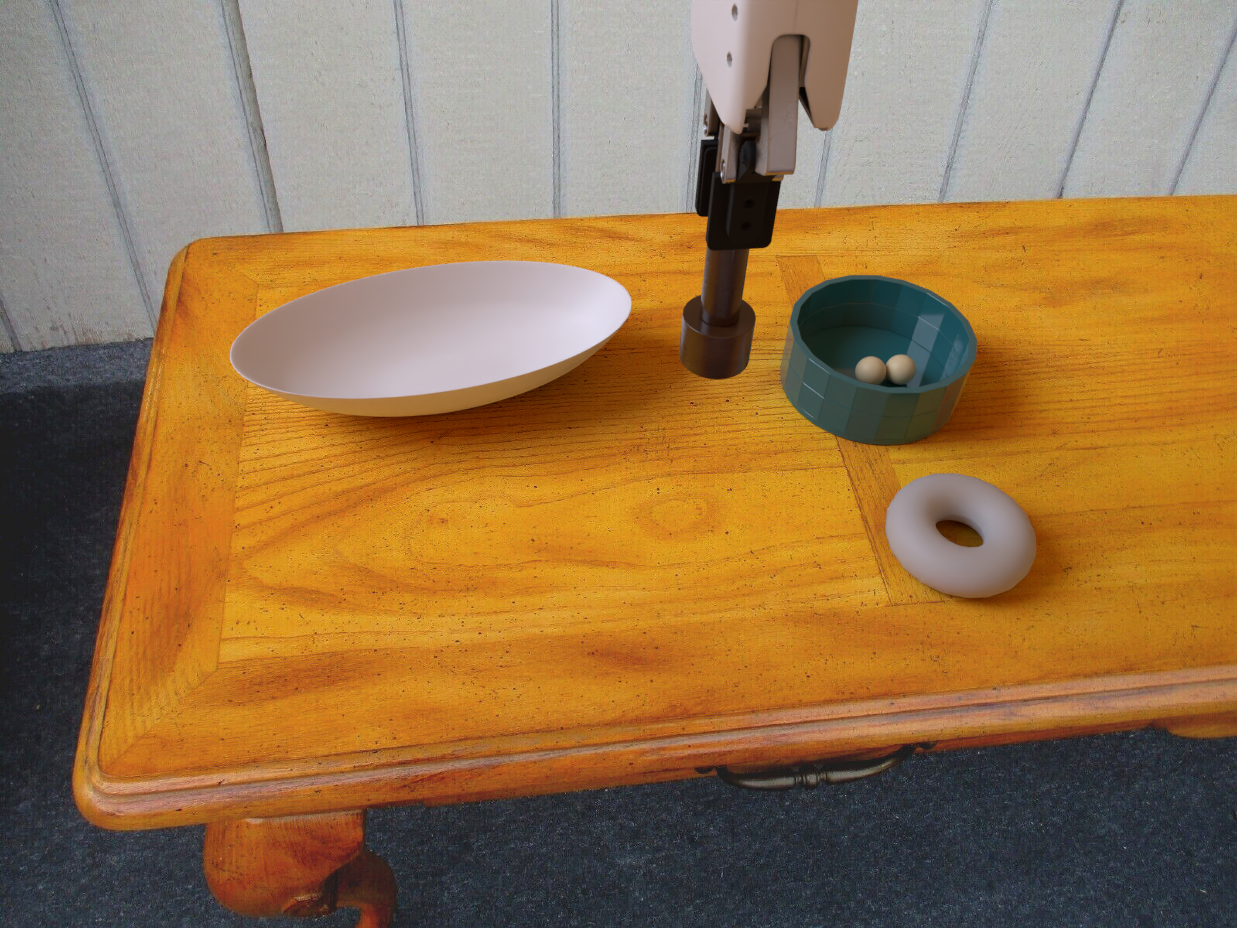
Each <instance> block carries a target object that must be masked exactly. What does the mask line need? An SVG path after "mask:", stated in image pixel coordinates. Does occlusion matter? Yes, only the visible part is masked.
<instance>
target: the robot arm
mask: <svg viewBox="0 0 1237 928" xmlns="http://www.w3.org/2000/svg"><path fill="white" fill-rule="evenodd" d="M858 6H859V0H690V41H691V46H692V51H693V54H694V57H695V60H696V63H697V65H698V69H699V71H700V74H701V76H702V78H703V81H704V83H705V86H706V89H705V100H704V108H703V119H702V127H703V135H704V137H706V138H707V139H700V147H699V156H698V167H697V178H696V189H695V200H694V209H695V211H696V215H697V216H699V217H701V218H707V221H706V222H707V223H706V231H705V243H706V247H707V246H708V248H709V249H710V250H713V251H718V250H738V249H750V250H756V249H757V250H758V249H766V248H767V247H769V246H770V245H771V243H772V240H773V234H774V228H775V224H776V223H775V222H776V216H777V210H778V204H779V198H780V191H781V187H782V181H783V180H784V178H785V176H789V175H794V173H795V171H796V165H797V146H798V145H797V144H798V124H799V122H798V121H799V102H800V104H801V106H802V108H803V110H804V112H805V113H806V115H807V117H808V119H809V121H810V123H811V125H812V126H813V128H814V129H818V130H819V131H820V132H828V131H830V130H832V129H833V128H834V127H835V125H836V124H837V122H838V121H839V118H840V114H841V110H842V105H843V100H844V95H845V88H846V84H847V83H846V82H847V76H848V70H849V64H850V58H851V53H852V52H851V51H852V45H853V39H854V32H855V25H856V18H857V13H858ZM721 121H722V122H723V123H724V124H725V127H724V136H723V146H722V155H721V165H720V172H715V165H716V156H717V147H718V138H719V129H720V122H721ZM754 132H761V135H760V140H759V141H746V142H745V143H744V144H743V146H742V147H741V148H740V145H741V137H742V133H754ZM710 137H711V139H708V138H710ZM712 137H713V139H712Z"/></svg>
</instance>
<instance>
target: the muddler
mask: <svg viewBox="0 0 1237 928" xmlns="http://www.w3.org/2000/svg"><path fill="white" fill-rule="evenodd" d="M724 127H725V124H724V123H723V122H722V121H721V122H720V129H719V138H718V147H717V156H716V165H715V172H720V165H721V155H722V146H723V136H724ZM760 135H761V132H754V133H742V137H741V145H740V148H741V147H742V146H743V144H744V143H745V142H746V141H759V140H760ZM750 250H751V249H738V250H718V251H713V250H710V249H709V248H708V246H707V245H706V247H705V256H704V267H703V274H702V275H703V276H702V284H701V291H700V292H701V293H700V294H699V295H696V296H694V297H692V298H691V299H690V300H688V301H687V302H686V304H685V305H684V307H683V309H682V314H681V315H682V317H681V327H680V336H679V337H680V338H679V349H678V357H679V358H678V359H679V361H680V363H681V364H682V366H683V368H685V369H686V370H687V371H688V372H689V373H692V374H693V375H696V376H698V377H699V378H704V379H708V380H718V381H719V380H727V379H731V378H734V377H736V376H738V375H740V374H741V373H743V372H744V371H745V370H746V369H747V367H748V366H749V362H750V358H751V353H752V352H751V351H752V346H753V338H754V331H755V327H756V320H757V317H756V313H755V310H754V309H753V307H752V306H751V304H749V302H747V301H746V300H744V299H743V296H744V289H745V282H746V276H747V270H748V269H747V268H748V263H749V256H750Z"/></svg>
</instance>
